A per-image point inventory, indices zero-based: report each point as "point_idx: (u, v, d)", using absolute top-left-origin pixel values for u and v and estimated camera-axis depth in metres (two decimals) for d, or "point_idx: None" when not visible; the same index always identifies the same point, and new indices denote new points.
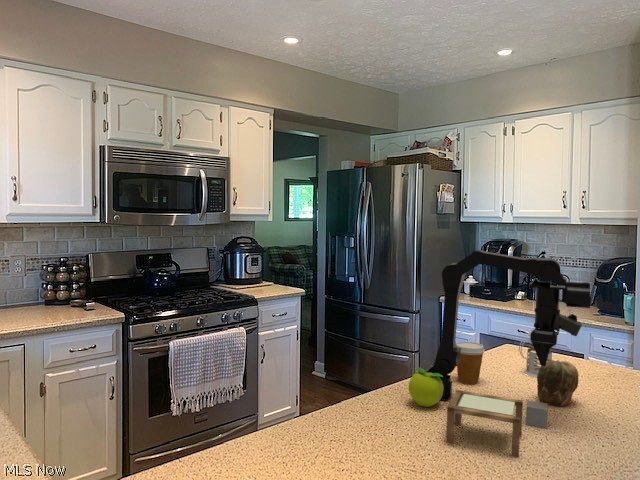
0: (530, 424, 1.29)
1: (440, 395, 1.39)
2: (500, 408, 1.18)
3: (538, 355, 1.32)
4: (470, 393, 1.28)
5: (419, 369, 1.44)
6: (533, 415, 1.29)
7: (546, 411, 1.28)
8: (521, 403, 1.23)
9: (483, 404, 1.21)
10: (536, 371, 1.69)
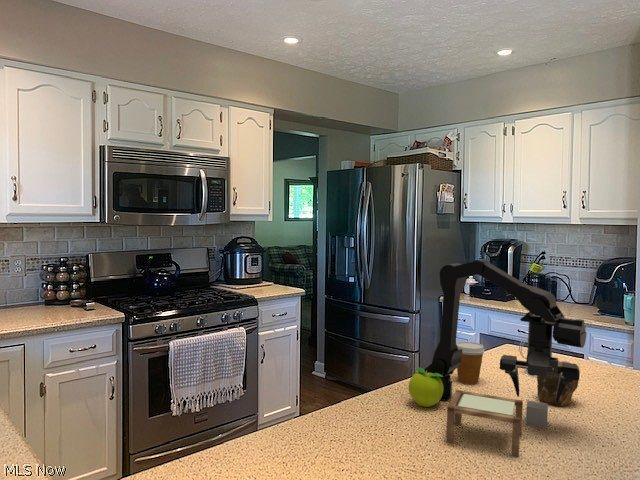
0: (530, 424, 1.29)
1: (440, 395, 1.39)
2: (500, 408, 1.18)
3: None
4: (470, 393, 1.28)
5: (419, 369, 1.44)
6: (533, 415, 1.29)
7: (546, 411, 1.28)
8: (521, 403, 1.23)
9: (483, 404, 1.21)
10: None
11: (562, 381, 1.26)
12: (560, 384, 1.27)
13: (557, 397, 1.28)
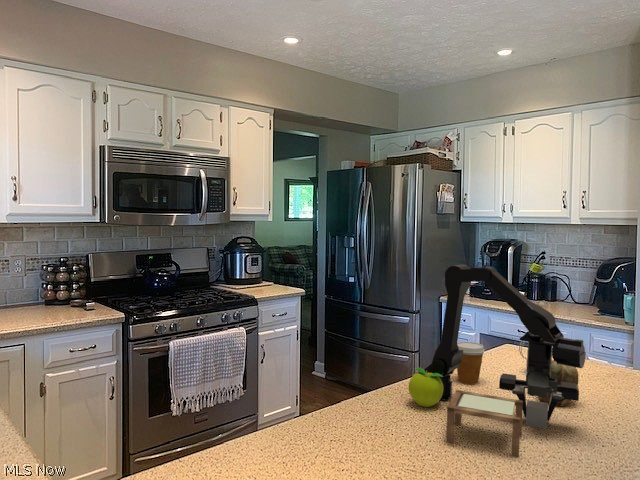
0: (530, 424, 1.29)
1: (440, 395, 1.39)
2: (500, 408, 1.18)
3: None
4: (470, 393, 1.28)
5: (419, 369, 1.44)
6: (533, 414, 1.29)
7: (546, 411, 1.28)
8: (521, 403, 1.23)
9: (483, 404, 1.21)
10: None
11: (553, 400, 1.27)
12: (551, 403, 1.28)
13: (548, 415, 1.29)
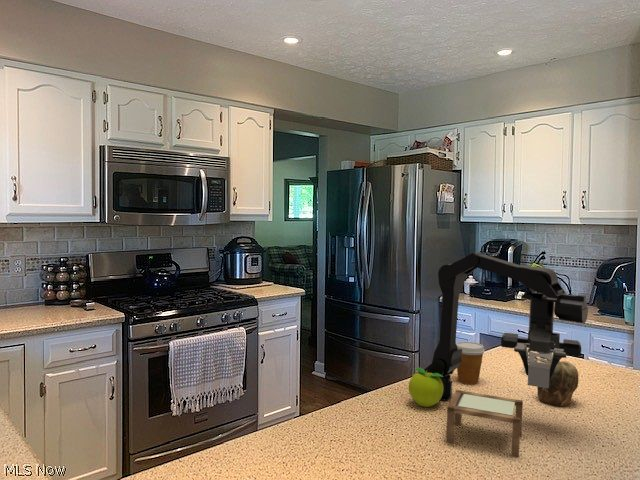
0: (532, 384, 1.29)
1: (440, 395, 1.39)
2: (500, 408, 1.18)
3: None
4: (470, 393, 1.28)
5: (419, 369, 1.44)
6: (534, 374, 1.28)
7: (548, 370, 1.27)
8: (521, 403, 1.23)
9: (483, 404, 1.21)
10: None
11: (555, 356, 1.26)
12: (553, 359, 1.27)
13: (550, 373, 1.28)
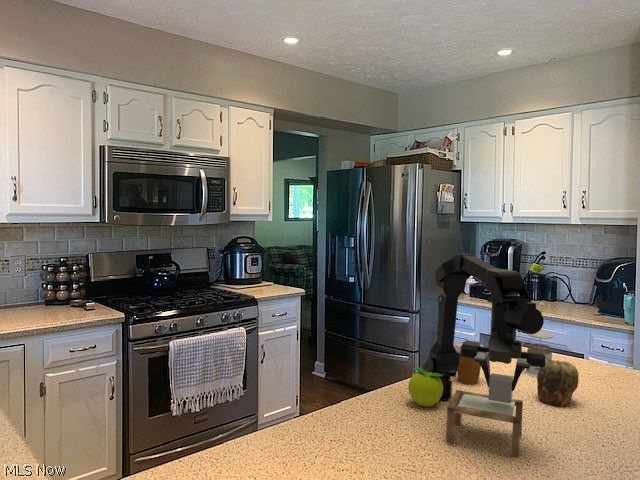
0: (493, 398, 1.18)
1: (440, 395, 1.39)
2: (500, 408, 1.18)
3: None
4: (470, 393, 1.28)
5: (418, 369, 1.44)
6: (496, 388, 1.18)
7: (510, 384, 1.16)
8: (521, 403, 1.23)
9: (483, 404, 1.21)
10: (536, 371, 1.69)
11: (518, 367, 1.15)
12: (516, 370, 1.16)
13: (513, 385, 1.18)
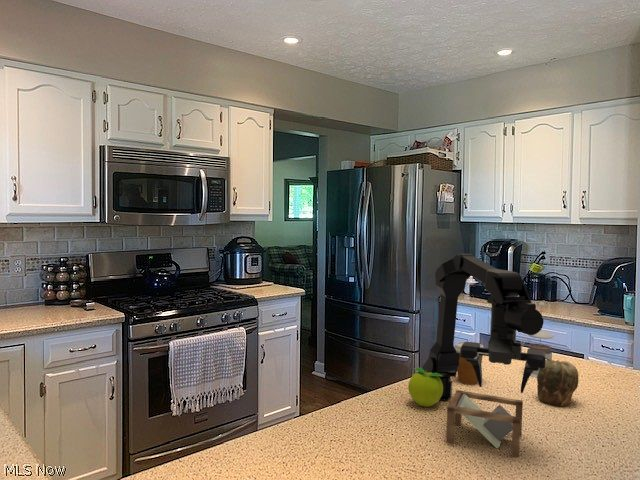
0: (488, 427, 1.19)
1: (440, 395, 1.39)
2: None
3: None
4: (470, 393, 1.28)
5: (418, 369, 1.44)
6: (497, 422, 1.18)
7: (512, 428, 1.17)
8: (521, 403, 1.23)
9: (478, 417, 1.21)
10: (536, 371, 1.69)
11: (527, 369, 1.15)
12: (525, 373, 1.16)
13: (522, 387, 1.17)
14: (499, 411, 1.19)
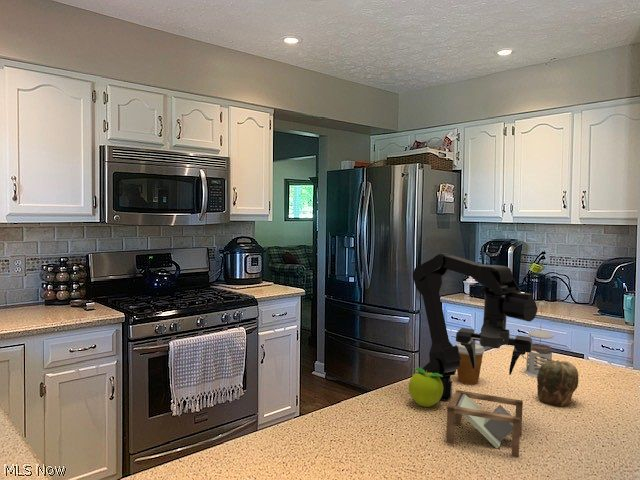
0: (488, 427, 1.19)
1: (440, 395, 1.39)
2: None
3: None
4: (470, 393, 1.28)
5: (419, 369, 1.44)
6: (497, 422, 1.18)
7: (512, 428, 1.16)
8: (521, 403, 1.23)
9: (478, 417, 1.21)
10: (536, 371, 1.69)
11: (514, 353, 1.28)
12: (513, 356, 1.30)
13: (510, 369, 1.31)
14: (499, 411, 1.18)
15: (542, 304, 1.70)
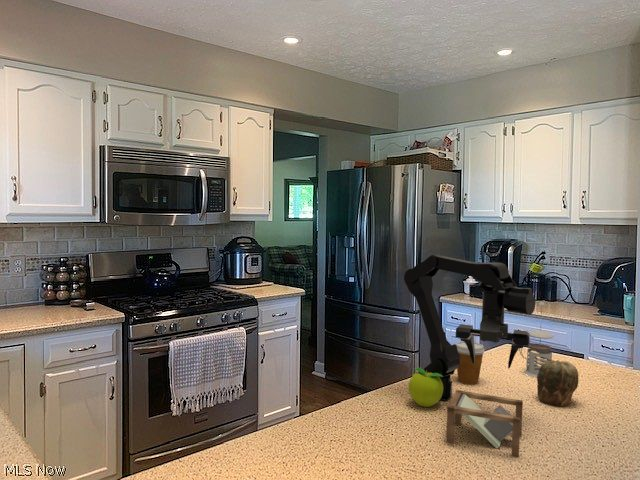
0: (488, 427, 1.19)
1: (440, 395, 1.39)
2: None
3: None
4: (470, 393, 1.28)
5: (419, 369, 1.44)
6: (497, 422, 1.18)
7: (512, 428, 1.16)
8: (521, 403, 1.23)
9: (478, 417, 1.21)
10: (536, 371, 1.69)
11: (513, 347, 1.32)
12: (511, 350, 1.33)
13: (509, 363, 1.34)
14: (499, 411, 1.18)
15: (542, 304, 1.70)
